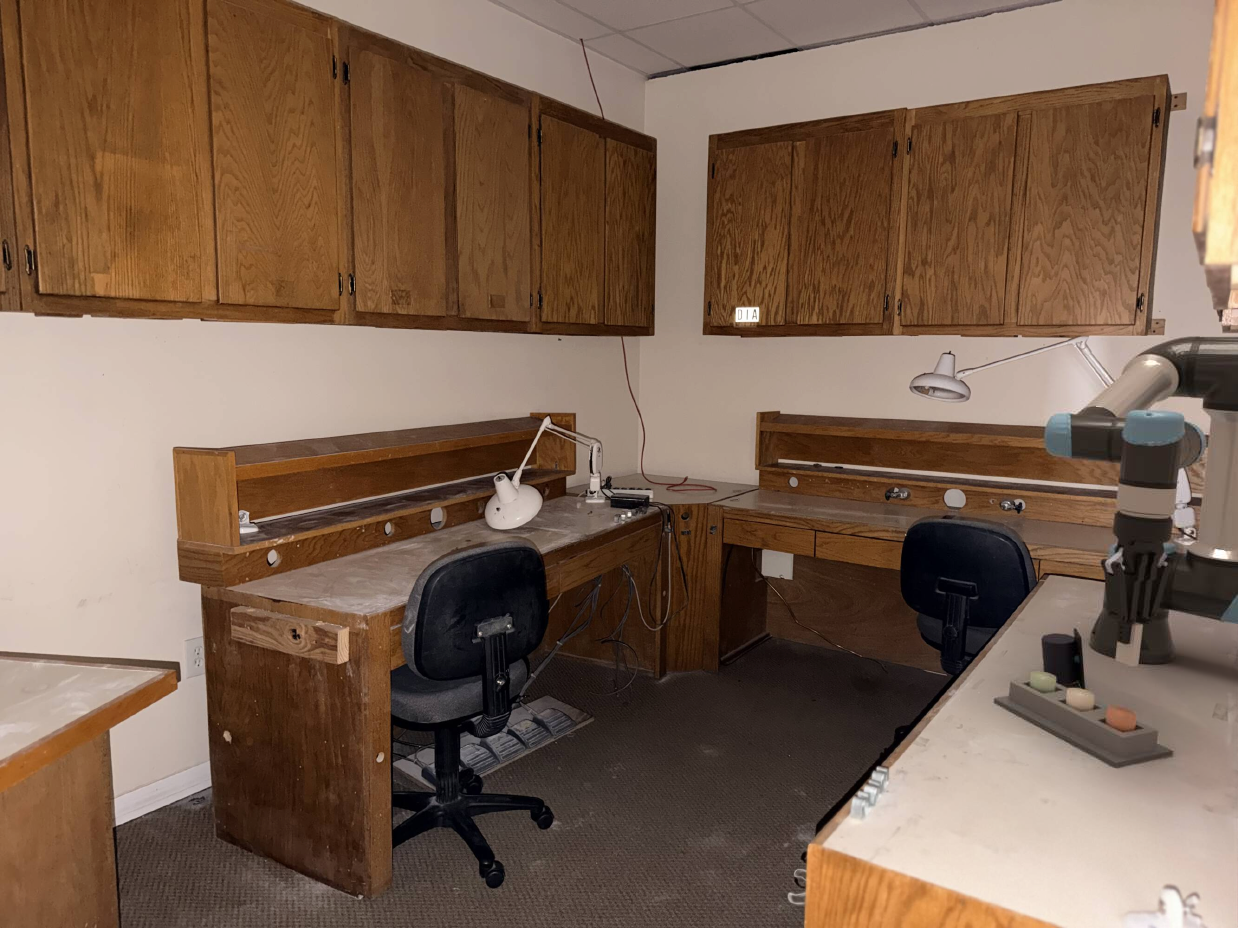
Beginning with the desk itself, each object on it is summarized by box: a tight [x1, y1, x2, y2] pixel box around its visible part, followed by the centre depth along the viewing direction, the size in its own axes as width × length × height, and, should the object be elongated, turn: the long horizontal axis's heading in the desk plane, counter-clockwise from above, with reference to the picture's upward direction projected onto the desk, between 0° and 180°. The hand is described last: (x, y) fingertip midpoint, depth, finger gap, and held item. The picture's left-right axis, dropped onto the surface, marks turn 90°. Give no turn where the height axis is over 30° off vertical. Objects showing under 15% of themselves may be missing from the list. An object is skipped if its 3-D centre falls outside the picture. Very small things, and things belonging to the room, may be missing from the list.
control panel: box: [993, 678, 1174, 769], centre depth 138 cm, size 24×12×4 cm, turn 20°
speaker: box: [1040, 627, 1086, 690], centre depth 156 cm, size 8×6×10 cm
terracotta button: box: [1105, 705, 1138, 733], centre depth 131 cm, size 4×4×4 cm
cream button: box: [1066, 687, 1095, 712], centre depth 138 cm, size 4×4×4 cm
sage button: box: [1029, 670, 1056, 694], centre depth 145 cm, size 4×4×4 cm
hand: (1126, 662), depth 129 cm, fingers closed
